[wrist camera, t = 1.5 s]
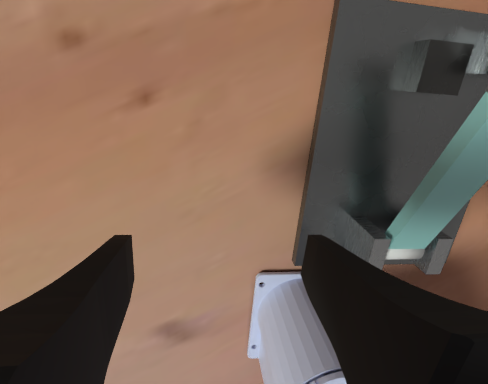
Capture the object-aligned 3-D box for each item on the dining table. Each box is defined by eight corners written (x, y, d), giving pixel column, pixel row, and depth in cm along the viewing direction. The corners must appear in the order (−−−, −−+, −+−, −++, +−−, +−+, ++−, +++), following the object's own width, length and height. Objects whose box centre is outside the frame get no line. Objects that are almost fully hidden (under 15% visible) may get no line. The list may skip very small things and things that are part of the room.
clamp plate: (438, 258, 27) (493, 300, 22) (291, 260, 25) (315, 307, 20) (526, 23, 20) (635, 6, 15) (335, -3, 18) (388, -33, 13)
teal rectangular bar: (406, 245, 24) (417, 263, 22) (370, 246, 23) (379, 263, 22) (568, 51, 14) (602, 64, 12) (511, 44, 13) (541, 57, 12)
